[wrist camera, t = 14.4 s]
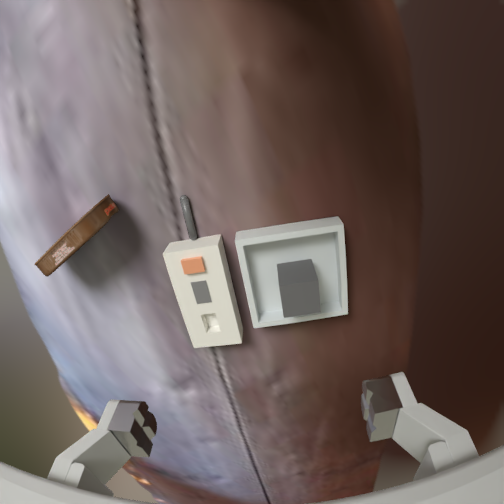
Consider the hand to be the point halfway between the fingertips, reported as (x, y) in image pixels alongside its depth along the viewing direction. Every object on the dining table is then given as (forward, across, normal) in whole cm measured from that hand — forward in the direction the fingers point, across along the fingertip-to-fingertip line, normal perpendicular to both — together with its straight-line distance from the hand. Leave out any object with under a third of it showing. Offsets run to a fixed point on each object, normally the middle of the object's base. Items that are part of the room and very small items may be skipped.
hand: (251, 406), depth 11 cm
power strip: (+31, +9, +9) cm, 34 cm away
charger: (+31, -3, +11) cm, 33 cm away
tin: (+31, +24, 0) cm, 40 cm away
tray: (+31, -3, +11) cm, 33 cm away
